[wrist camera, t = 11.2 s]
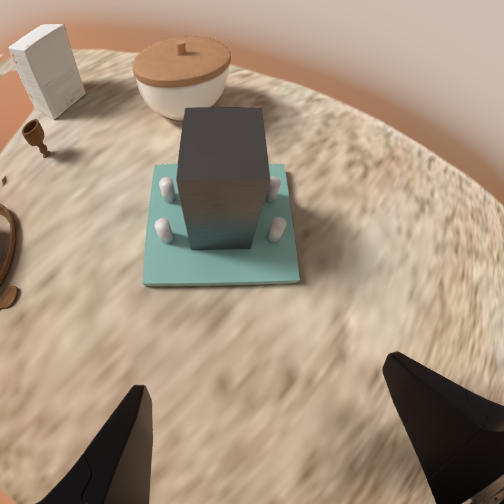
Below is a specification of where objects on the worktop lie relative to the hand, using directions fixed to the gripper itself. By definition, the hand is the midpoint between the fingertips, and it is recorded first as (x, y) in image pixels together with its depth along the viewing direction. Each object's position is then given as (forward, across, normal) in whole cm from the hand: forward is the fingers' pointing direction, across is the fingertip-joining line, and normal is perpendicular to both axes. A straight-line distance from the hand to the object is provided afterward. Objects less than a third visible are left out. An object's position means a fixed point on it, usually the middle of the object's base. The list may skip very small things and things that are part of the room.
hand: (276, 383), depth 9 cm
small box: (+35, +25, -16) cm, 46 cm away
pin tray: (+19, +1, 0) cm, 19 cm away
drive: (+18, +1, 0) cm, 18 cm away
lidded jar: (+31, +5, -12) cm, 33 cm away
